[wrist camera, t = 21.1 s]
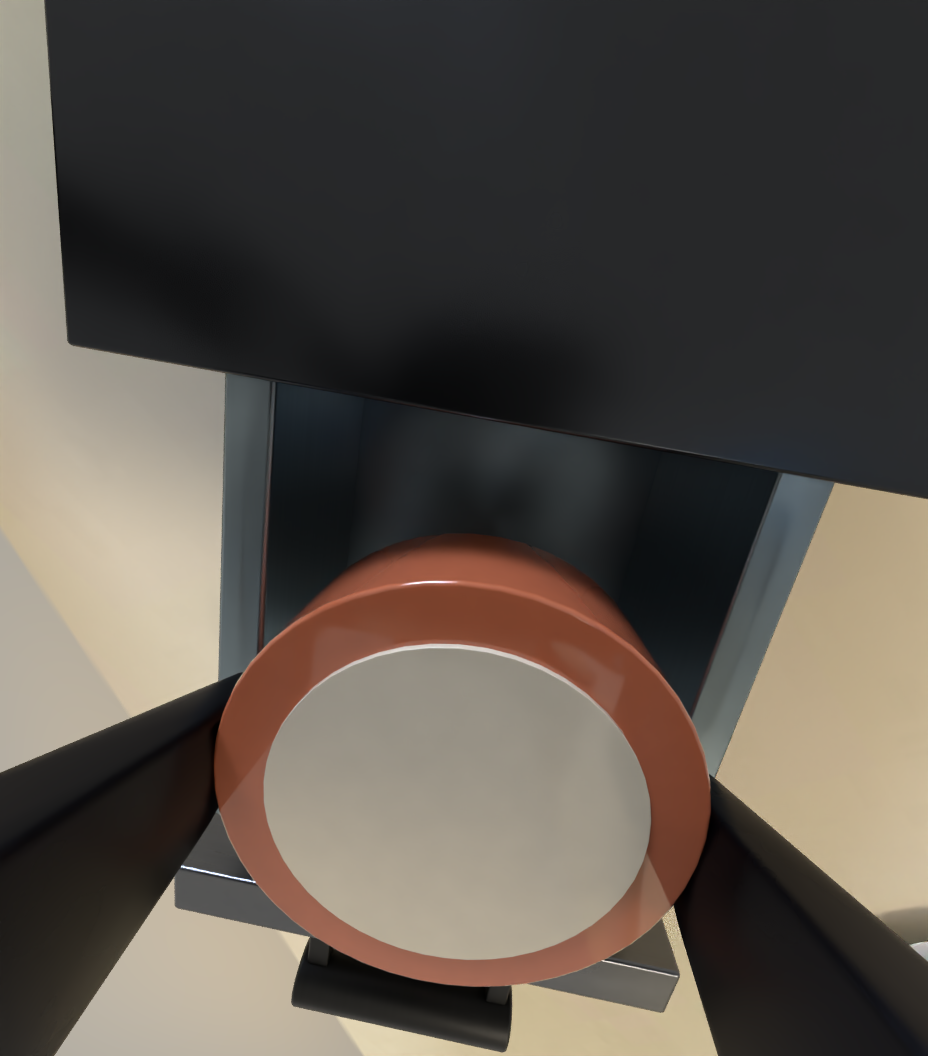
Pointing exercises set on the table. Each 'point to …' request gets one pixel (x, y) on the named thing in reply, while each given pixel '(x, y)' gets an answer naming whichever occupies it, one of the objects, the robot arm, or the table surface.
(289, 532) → the drawer
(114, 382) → the table surface
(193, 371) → the table surface
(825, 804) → the table surface
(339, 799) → the round tin
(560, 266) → the cabinet
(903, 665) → the table surface
